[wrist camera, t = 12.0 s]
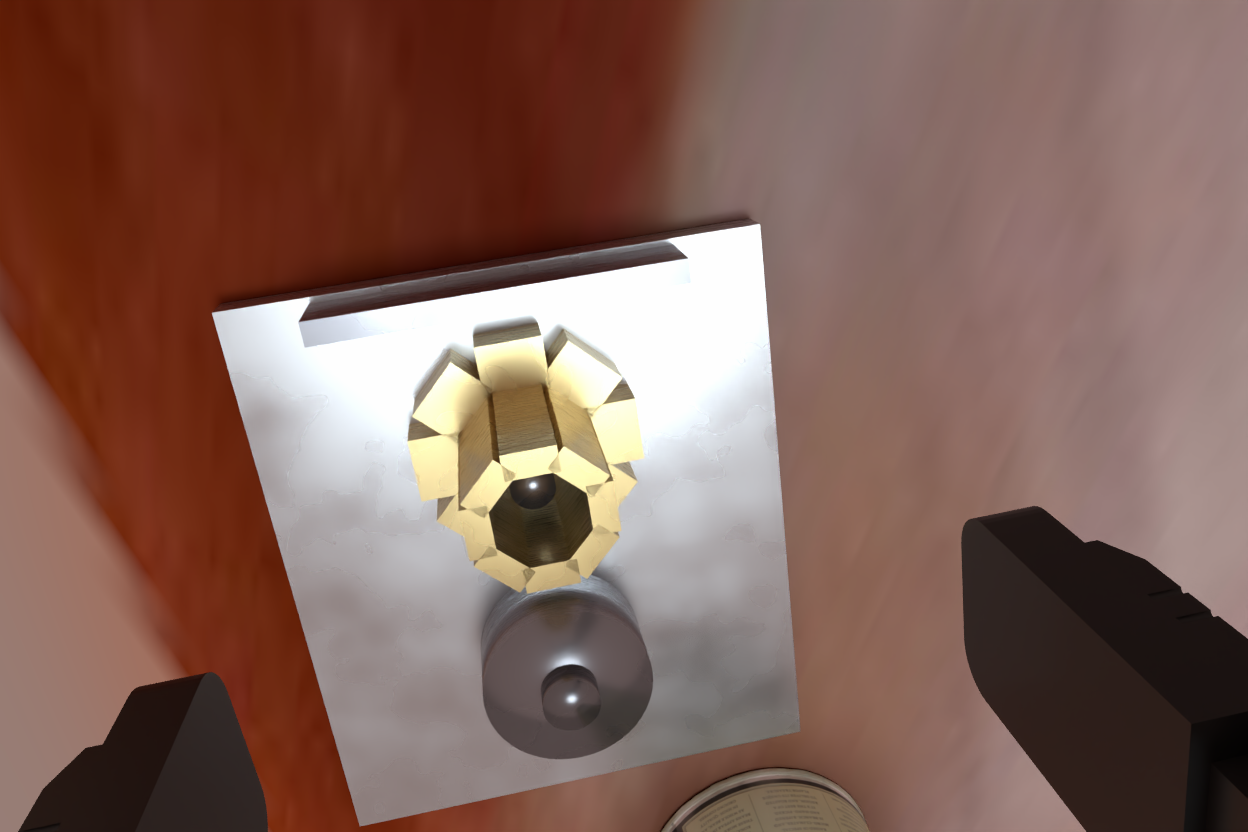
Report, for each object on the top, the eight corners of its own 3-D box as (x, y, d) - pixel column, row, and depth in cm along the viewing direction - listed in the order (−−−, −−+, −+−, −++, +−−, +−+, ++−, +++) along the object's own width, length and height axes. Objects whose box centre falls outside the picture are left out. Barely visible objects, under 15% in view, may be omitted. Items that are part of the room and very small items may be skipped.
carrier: (750, 218, 35) (803, 249, 29) (791, 713, 42) (839, 808, 37) (220, 303, 33) (175, 352, 28) (362, 805, 40) (348, 918, 35)
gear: (616, 308, 34) (655, 370, 27) (646, 508, 36) (687, 608, 30) (391, 349, 33) (375, 422, 27) (438, 550, 36) (435, 661, 29)
